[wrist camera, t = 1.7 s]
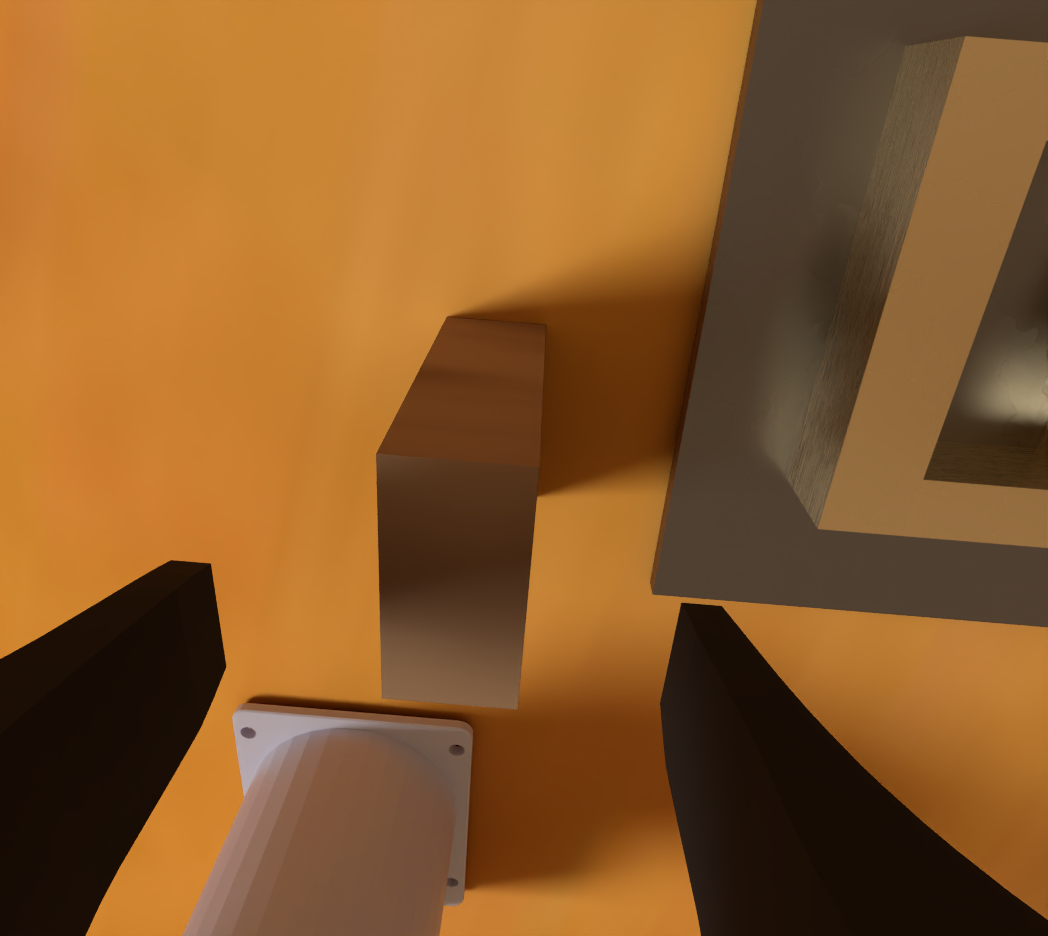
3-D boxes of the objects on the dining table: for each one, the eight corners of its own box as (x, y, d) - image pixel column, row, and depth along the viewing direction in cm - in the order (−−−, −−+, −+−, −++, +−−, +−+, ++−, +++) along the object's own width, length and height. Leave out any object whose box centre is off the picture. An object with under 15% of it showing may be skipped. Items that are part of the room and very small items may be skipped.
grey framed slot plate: (1120, 621, 21) (1201, 695, 19) (650, 582, 21) (663, 650, 19) (1554, -155, 13) (1807, -221, 11) (797, -215, 13) (856, -295, 11)
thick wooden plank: (531, 498, 20) (517, 709, 13) (443, 490, 20) (381, 698, 13) (546, 324, 18) (539, 467, 11) (446, 316, 18) (375, 453, 11)
